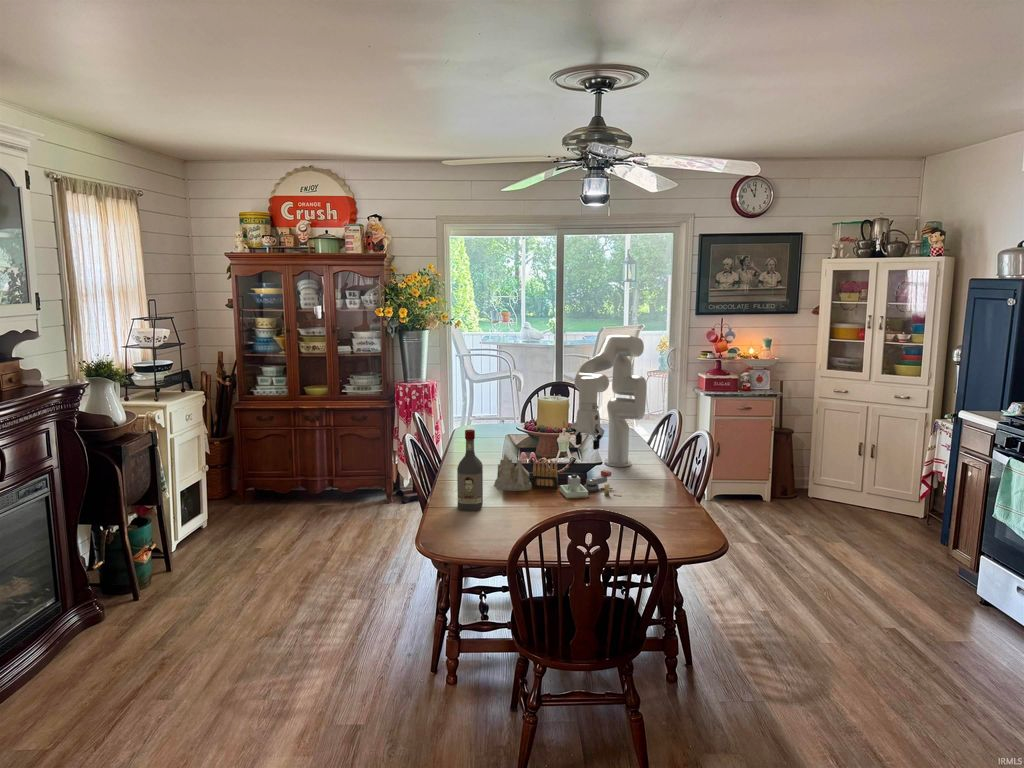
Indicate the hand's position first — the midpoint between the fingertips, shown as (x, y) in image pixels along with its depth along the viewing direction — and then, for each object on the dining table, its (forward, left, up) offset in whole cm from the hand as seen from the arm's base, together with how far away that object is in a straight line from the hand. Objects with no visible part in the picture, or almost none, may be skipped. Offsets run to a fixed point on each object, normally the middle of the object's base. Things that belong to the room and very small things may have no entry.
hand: (587, 446), depth 283 cm
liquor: (+16, -51, -18) cm, 57 cm away
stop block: (+8, -8, -17) cm, 20 cm away
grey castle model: (-8, -30, -18) cm, 35 cm away
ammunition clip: (-3, -17, -18) cm, 25 cm away
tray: (+8, -8, -17) cm, 21 cm away
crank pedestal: (+8, +4, -17) cm, 20 cm away
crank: (+2, +4, -15) cm, 16 cm away
